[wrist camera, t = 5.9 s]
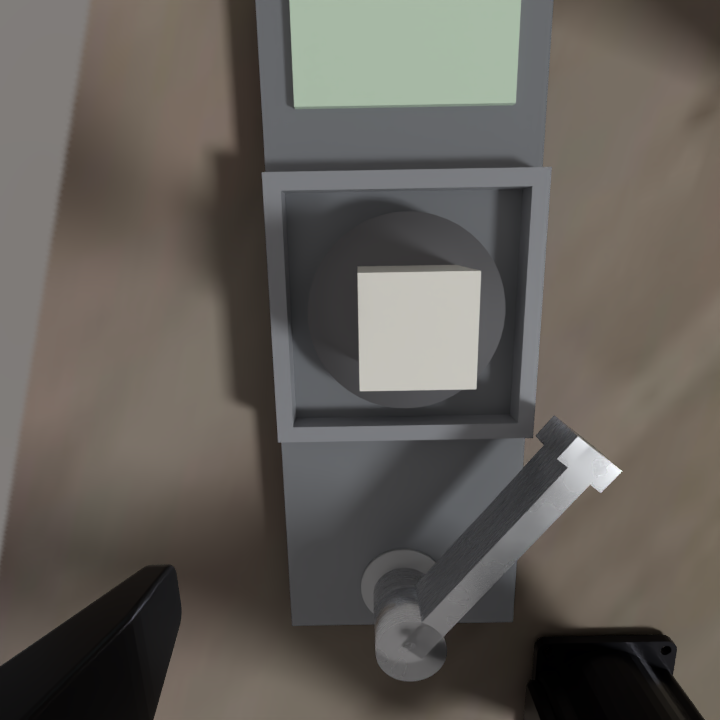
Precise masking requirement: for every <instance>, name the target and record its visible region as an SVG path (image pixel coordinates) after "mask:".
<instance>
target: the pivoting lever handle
mask: <svg viewBox="0 0 720 720" xmlns="http://www.w3.org/2000/svg"><path fill="white" fill-rule="evenodd" d="M536 437H537V438H538V439H539V440H540V441H541V442H542V443H543V444H544V446H543V447H542V448H541V449H540V450H539V451H538V452H537V453H536V454H535V455H534V457H533V458H532V459H531V460H530V461H529V462H528V463H527V464H526V465H525V466H524V467H523V469H522V470H521V471H520V472H519V473H518V474H517V475H516V476H515V477H514V478H513V479H512V480H511V482H510V483H509V484H508V485H507V486H506V487H505V488H504V489H503V490H502V491H501V492H500V493H499V495H498V496H497V497H496V498H495V499H494V500H493V501H492V502H491V503H490V504H489V505H488V507H487V508H486V509H485V510H484V511H483V512H482V513H481V514H480V515H479V516H478V517H477V518H476V520H475V521H474V522H473V523H472V524H471V525H470V526H469V527H468V528H467V529H466V530H465V531H464V533H463V534H462V535H461V536H460V537H459V538H458V539H457V540H456V541H455V542H454V543H453V545H452V546H451V547H450V548H449V549H448V550H447V551H446V552H445V553H444V554H443V555H442V556H441V558H440V559H439V560H438V561H437V562H436V563H435V564H434V565H433V566H432V567H431V568H430V569H429V571H428V572H427V573H426V574H424V573H422V572H420V571H418V570H415V569H412V568H397V569H394V570H391V571H389V572H387V573H385V574H384V575H383V576H382V577H381V578H380V579H379V580H378V581H377V583H376V585H375V587H374V591H373V605H374V628H375V652H376V659H377V662H378V664H379V666H380V668H381V669H382V670H383V671H384V672H385V673H386V674H388V675H389V676H391V677H393V678H395V679H398V680H401V681H419V680H423V679H426V678H428V677H430V676H432V675H433V674H435V673H436V672H437V671H438V670H439V669H440V668H441V667H442V665H443V664H444V662H445V660H446V656H447V646H446V641H445V637H444V636H445V635H446V634H447V633H448V632H449V630H450V629H451V628H452V627H453V626H454V625H455V624H456V623H457V622H458V621H459V620H460V619H461V618H462V617H463V616H464V615H465V614H466V613H467V612H468V611H469V610H470V609H471V608H472V607H473V606H474V605H475V603H476V602H477V601H478V600H479V599H480V598H481V597H482V596H483V595H484V594H485V593H486V592H487V591H488V590H489V589H490V588H491V587H492V586H493V585H494V584H495V583H496V582H497V581H498V580H499V579H500V578H501V577H502V575H503V574H504V573H505V572H506V571H507V570H508V569H509V568H510V567H511V566H512V565H513V564H514V563H515V562H516V561H517V560H518V559H519V558H520V557H521V556H522V555H523V554H524V553H525V552H526V551H527V550H528V548H529V547H530V546H531V545H532V544H533V543H534V542H535V541H536V540H537V539H538V538H539V537H540V536H541V535H542V534H543V533H544V532H545V531H546V530H547V529H548V528H549V527H550V526H551V525H552V524H553V523H554V521H555V520H556V519H557V518H558V517H559V516H560V515H561V514H562V513H563V512H564V511H565V510H566V509H567V508H568V507H569V506H570V505H571V504H572V503H573V502H574V501H575V500H576V499H577V498H578V497H579V496H580V495H581V493H582V492H583V491H584V490H585V489H586V488H587V487H588V486H589V485H591V486H592V487H594V488H595V489H596V490H598V491H599V492H600V493H601V492H602V491H603V490H604V489H605V488H606V487H607V486H608V485H609V484H610V483H611V482H612V481H613V480H614V479H615V478H616V477H617V476H618V475H619V474H620V473H621V472H622V471H621V470H620V469H619V468H618V467H617V466H616V465H615V464H613V463H612V462H611V461H610V460H609V459H608V458H606V457H605V456H604V455H603V454H602V453H601V452H600V451H598V450H597V449H596V448H595V447H594V446H593V445H591V444H590V443H589V442H587V441H586V440H585V439H584V438H582V437H581V436H580V435H579V434H577V433H576V432H575V431H574V430H572V429H571V428H570V427H568V426H567V425H566V424H565V423H563V422H562V421H561V420H560V419H558V418H557V417H556V416H553V417H552V418H551V419H550V420H549V422H548V423H547V424H546V425H545V426H544V427H543V428H542V429H541V430H540V431H539V432H538V434H537V435H536Z"/></svg>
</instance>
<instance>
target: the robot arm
mask: <svg viewBox="0 0 720 720" xmlns="http://www.w3.org/2000/svg"><path fill="white" fill-rule="evenodd" d="M180 622H181V601H180V594H179V588H178V581H177V574H176V570H175V568H174V567H173V566H172V565H169V564H168V565H148V566H146V567H144V568H142V569H141V570H140V571H138V572H137V573H135V574H134V575H132V576H131V577H129V578H128V579H126V580H125V581H124V582H122V583H121V584H119V585H118V586H116V587H115V588H113V589H112V590H110V591H109V592H108V593H106V594H105V595H103V596H102V597H100V598H99V599H97V600H96V601H94V602H93V603H92V604H90V605H89V606H87V607H86V608H84V609H83V610H81V611H80V612H78V613H77V614H76V615H74V616H73V617H71V618H70V619H68V620H67V621H65V622H64V623H63V624H61V625H60V626H58V627H57V628H55V629H54V630H52V631H51V632H49V633H48V634H47V635H45V636H44V637H42V638H41V639H39V640H38V641H36V642H35V643H33V644H32V645H31V646H29V647H28V648H26V649H25V650H23V651H22V652H20V653H19V654H17V655H16V656H15V657H13V658H12V659H10V660H9V661H7V662H6V663H4V664H3V665H1V666H0V720H153V719H154V716H155V712H156V709H157V705H158V702H159V698H160V695H161V691H162V687H163V684H164V680H165V677H166V673H167V669H168V666H169V662H170V659H171V655H172V651H173V648H174V644H175V641H176V637H177V633H178V630H179V626H180ZM664 646H665V647H664ZM546 648H549V649H547V650H544V649H546ZM676 652H677V647H676V645H675V644H674V643H673V641H672V640H671V639H670V637H668V636H666V635H622V636H564V637H542V638H540V639H538V640H537V641H536V642H535V645H534V657H533V670H532V680H529V682H528V684H527V685H526V699H525V712H524V720H705V719H704V718H703V717H702V715H701V714H700V713H699V711H698V710H697V708H696V707H695V706H694V704H693V703H692V701H691V700H690V699H689V697H688V696H687V695H686V693H685V692H684V690H683V689H682V688H681V686H680V685H679V684H678V682H677V681H676V679H675V678H674V677H673V671H674V665H675V658H676Z"/></svg>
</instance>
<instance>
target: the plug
mask: <svg viewBox="0 0 720 720" xmlns="http://www.w3.org/2000/svg"><path fill="white" fill-rule="evenodd" d="M504 320H505V295H504V288H503V284H502V281H501V277H500V274H499V272H498V269H497V267H496V265H495V263H494V261H493V259H492V258H491V256H490V254H489V253H488V251H487V250H486V249H485V248H484V246H483V245H482V244H481V243H480V242H479V241H478V240H477V239H476V238H475V237H474V236H473V235H472V234H471V233H470V232H468V231H467V230H465V229H464V228H462V227H461V226H460V225H458V224H456V223H454V222H452V221H450V220H448V219H446V218H443V217H440V216H437V215H434V214H429V213H423V212H411V211H405V212H393V213H389V214H384V215H380V216H377V217H375V218H372V219H369V220H367V221H365V222H363V223H361V224H359V225H357V226H356V227H354V228H353V229H351V230H350V231H349V232H347V233H346V234H344V235H343V236H342V237H341V238H340V239H339V240H338V241H337V242H336V243H335V244H334V245H333V246H332V248H331V249H330V250H329V251H328V252H327V254H326V255H325V257H324V258H323V260H322V262H321V263H320V265H319V267H318V269H317V271H316V274H315V276H314V278H313V282H312V285H311V289H310V293H309V300H308V324H309V331H310V335H311V339H312V342H313V345H314V348H315V350H316V353H317V355H318V356H319V358H320V360H321V362H322V364H323V365H324V366H325V368H326V369H327V371H328V372H329V373H330V374H331V376H332V377H333V378H334V379H335V380H336V381H337V382H338V383H339V384H341V385H342V386H343V387H344V388H346V389H347V390H348V391H350V392H351V393H353V394H355V395H356V396H358V397H360V398H362V399H364V400H366V401H369V402H371V403H375V404H378V405H381V406H387V407H393V408H416V407H422V406H427V405H431V404H434V403H437V402H440V401H443V400H445V399H447V398H449V397H451V396H453V395H455V394H456V393H458V392H460V391H461V390H467V389H476V388H477V377H478V375H479V374H480V373H481V372H482V371H483V370H484V368H485V367H486V366H487V364H488V363H489V362H490V360H491V358H492V356H493V354H494V353H495V351H496V349H497V346H498V344H499V341H500V339H501V335H502V331H503V327H504Z"/></svg>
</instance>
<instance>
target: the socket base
mask: <svg viewBox="0 0 720 720" xmlns="http://www.w3.org/2000/svg"><path fill="white" fill-rule="evenodd" d="M255 2H256V19H257V37H258V54H259V71H260V88H261V105H262V122H263V139H264V156H265V172H262V185H263V201H264V218H265V235H266V251H267V268H268V284H269V301H270V317H271V334H272V350H273V367H274V384H275V400H276V417H277V433H278V443H280V442H281V445H282V462H283V479H284V496H285V513H286V530H287V547H288V564H289V581H290V598H291V615H292V626H313V625H371V624H374V605H373V591H374V587H375V585H376V583H377V581H378V580H379V579H380V578H381V577H382V576H383V575H384V574H385V573H387V572H389V571H391V570H394V569H397V568H412V569H415V570H418V571H420V572H422V573H424V574H426V573H427V572H428V571H429V569H430V568H431V567H432V566H433V565H434V564H435V563H436V562H437V561H438V560H439V559H440V558H441V556H442V555H443V554H444V553H445V552H446V551H447V550H448V549H449V548H450V547H451V546H452V545H453V543H454V542H455V541H456V540H457V539H458V538H459V537H460V536H461V535H462V534H463V533H464V531H465V530H466V529H467V528H468V527H469V526H470V525H471V524H472V523H473V522H474V521H475V520H476V518H477V517H478V516H479V515H480V514H481V513H482V512H483V511H484V510H485V509H486V508H487V507H488V505H489V504H490V503H491V502H492V501H493V500H494V499H495V498H496V497H497V496H498V495H499V493H500V492H501V491H502V490H503V489H504V488H505V487H506V486H507V485H508V484H509V483H510V482H511V480H512V479H513V478H514V477H515V476H516V475H517V474H518V473H519V472H520V471H521V470H522V469H523V459H524V444H525V438H533V429H534V414H535V400H536V385H537V371H538V357H539V342H540V328H541V313H542V299H543V284H544V270H545V256H546V241H547V227H548V212H549V198H550V183H551V169H552V167H543V152H544V137H545V122H546V106H547V91H548V76H549V60H550V45H551V30H552V14H553V0H255ZM405 211H411V212H423V213H429V214H434V215H437V216H440V217H443V218H446V219H448V220H450V221H452V222H454V223H456V224H458V225H460V226H461V227H462V228H464V229H465V230H467V231H468V232H470V233H471V234H472V235H473V236H474V237H475V238H476V239H477V240H478V241H479V242H480V243H481V244H482V245H483V246H484V248H485V249H486V250H487V251H488V253H489V254H490V256H491V258H492V259H493V261H494V263H495V265H496V267H497V269H498V272H499V274H500V277H501V281H502V284H503V288H504V295H505V320H504V327H503V331H502V335H501V339H500V341H499V344H498V346H497V349H496V351H495V353H494V354H493V356H492V358H491V360H490V362H489V363H488V364H487V366H486V367H485V368H484V370H483V371H482V372H481V373H480V374H479V375H478V377H477V388H476V389H467V390H461V391H460V392H458V393H456V394H455V395H453V396H451V397H449V398H447V399H445V400H443V401H440V402H437V403H434V404H431V405H427V406H422V407H416V408H393V407H387V406H381V405H378V404H375V403H371V402H369V401H366V400H364V399H362V398H360V397H358V396H356V395H355V394H353V393H351V392H350V391H348V390H347V389H346V388H344V387H343V386H342V385H341V384H339V383H338V382H337V381H336V380H335V379H334V378H333V377H332V376H331V374H330V373H329V372H328V371H327V369H326V368H325V366H324V365H323V364H322V362H321V360H320V358H319V356H318V355H317V353H316V350H315V348H314V345H313V342H312V339H311V335H310V331H309V324H308V300H309V293H310V289H311V285H312V282H313V278H314V276H315V274H316V271H317V269H318V267H319V265H320V263H321V262H322V260H323V258H324V257H325V255H326V254H327V252H328V251H329V250H330V249H331V248H332V246H333V245H334V244H335V243H336V242H337V241H338V240H339V239H340V238H341V237H342V236H343V235H344V234H346V233H347V232H349V231H350V230H351V229H353V228H354V227H356V226H357V225H359V224H361V223H363V222H365V221H367V220H369V219H372V218H375V217H377V216H380V215H384V214H389V213H393V212H405ZM516 566H517V561H516V562H515V563H514V564H513V565H512V566H511V567H510V568H509V569H508V570H507V571H506V572H505V573H504V574H503V575H502V577H501V578H500V579H499V580H498V581H497V582H496V583H495V584H494V585H493V586H492V587H491V588H490V589H489V590H488V591H487V592H486V593H485V594H484V595H483V596H482V597H481V598H480V599H479V600H478V601H477V602H476V603H475V605H474V606H473V607H472V608H471V609H470V610H469V611H468V612H467V613H466V614H465V615H464V616H463V617H462V618H461V619H460V620H459V621H458V622H457V623H486V622H513V612H514V597H515V582H516Z"/></svg>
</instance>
